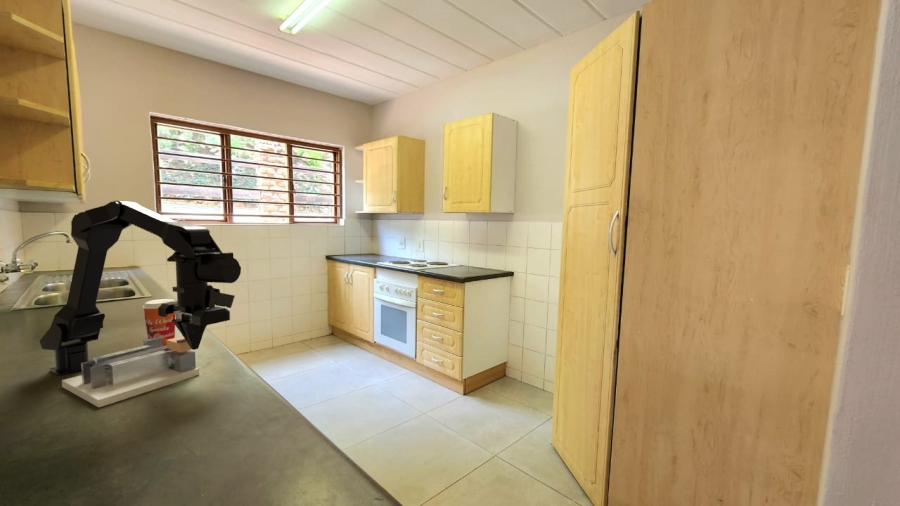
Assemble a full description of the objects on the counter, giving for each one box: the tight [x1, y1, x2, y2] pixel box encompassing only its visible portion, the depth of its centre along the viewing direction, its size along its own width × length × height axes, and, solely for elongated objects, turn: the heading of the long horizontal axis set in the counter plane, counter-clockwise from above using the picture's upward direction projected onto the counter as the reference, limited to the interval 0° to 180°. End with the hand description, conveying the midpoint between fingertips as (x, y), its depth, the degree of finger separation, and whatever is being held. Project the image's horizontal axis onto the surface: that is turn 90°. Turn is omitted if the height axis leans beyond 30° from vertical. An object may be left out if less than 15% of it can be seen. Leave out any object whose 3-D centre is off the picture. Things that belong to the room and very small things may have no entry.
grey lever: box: [92, 345, 171, 369], centre depth 83 cm, size 3×15×1 cm, turn 152°
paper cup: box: [142, 298, 176, 346], centre depth 103 cm, size 8×8×14 cm
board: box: [61, 367, 200, 408], centre depth 82 cm, size 19×18×2 cm
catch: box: [167, 336, 192, 352], centre depth 85 cm, size 6×3×3 cm, turn 62°
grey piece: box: [80, 337, 197, 389], centre depth 83 cm, size 18×16×5 cm
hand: (195, 349), depth 83 cm, fingers closed
